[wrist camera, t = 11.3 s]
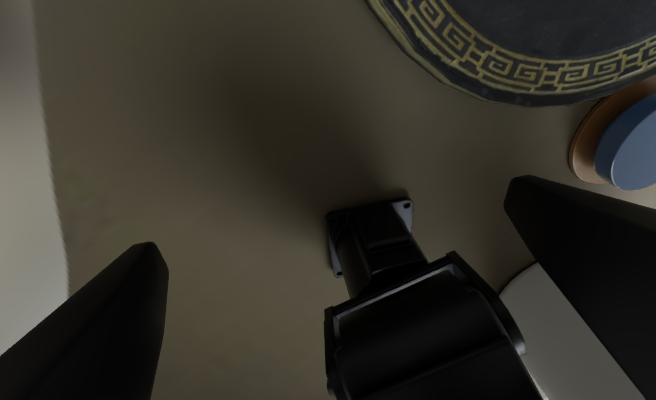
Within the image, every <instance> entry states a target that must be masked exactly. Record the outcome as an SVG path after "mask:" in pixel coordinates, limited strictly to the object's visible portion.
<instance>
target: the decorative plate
mask: <svg viewBox="0 0 656 400" xmlns="http://www.w3.org/2000/svg"><path fill="white" fill-rule="evenodd" d="M365 1H366V3H367V5H368V7H369V9H370V10H371V11H372V12H373V14H374V15H375V16H376V18H377V19H378V20H379V22H380V23H381V24H382V25H383V27H384V28H385V29H386V31H387V32H388V33H389V34H390V36H391V37H392V38H393V40H394V41H395V42H396V43H397V45H398V46H399V47H400V49H401V50H402V51H403V52H404V53H405V54H406V55H407V56H409V57H410V58H411V59H412V60H414V61H415V62H416V63H417V64H418V65H420V66H421V67H422V68H423V69H425V70H426V71H427V72H428V73H430V74H431V75H432V76H433V77H434V78H436V79H437V80H438V81H439V82H442V83H444V84H446V85H448V86H450V87H452V88H455V89H457V90H459V91H461V92H463V93H466V94H468V95H470V96H472V97H474V98H477V99H479V100H482V101H487V102H493V103H498V104H504V105H510V106H516V107H521V108H540V107H556V106H569V105H573V104H577V103H580V102H584V101H588V100H592V99H595V98H599V97H603V96H607V95H610V94H613V93H615V92H618V91H620V90H622V89H624V88H626V87H629V86H631V85H633V84H635V83H638V82H640V81H642V80H644V79H647V78H649V77H651V76H653V75H656V0H365Z"/></svg>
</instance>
